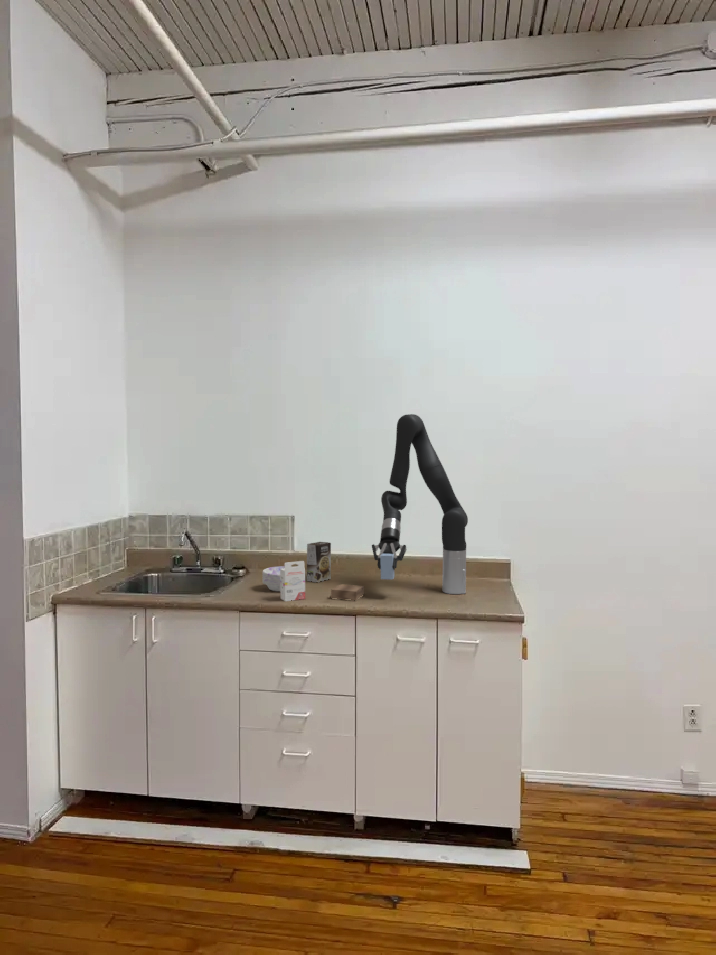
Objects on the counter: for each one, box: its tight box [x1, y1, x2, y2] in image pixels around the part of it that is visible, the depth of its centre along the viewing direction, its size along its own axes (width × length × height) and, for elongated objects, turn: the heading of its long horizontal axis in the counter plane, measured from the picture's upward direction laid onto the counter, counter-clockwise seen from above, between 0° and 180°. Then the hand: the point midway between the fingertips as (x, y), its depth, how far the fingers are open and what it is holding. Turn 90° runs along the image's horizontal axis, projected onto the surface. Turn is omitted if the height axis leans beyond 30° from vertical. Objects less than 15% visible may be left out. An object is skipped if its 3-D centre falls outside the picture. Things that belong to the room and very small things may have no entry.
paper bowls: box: [261, 565, 285, 592], centre depth 272 cm, size 15×15×8 cm
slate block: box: [380, 554, 395, 580], centre depth 257 cm, size 5×5×9 cm
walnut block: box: [330, 583, 365, 601], centre depth 259 cm, size 10×10×4 cm
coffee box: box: [306, 541, 332, 583], centre depth 288 cm, size 9×6×16 cm
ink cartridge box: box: [279, 560, 306, 602], centre depth 255 cm, size 9×5×15 cm, turn 117°
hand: (386, 568), depth 255 cm, fingers closed on slate block, 4 cm apart
